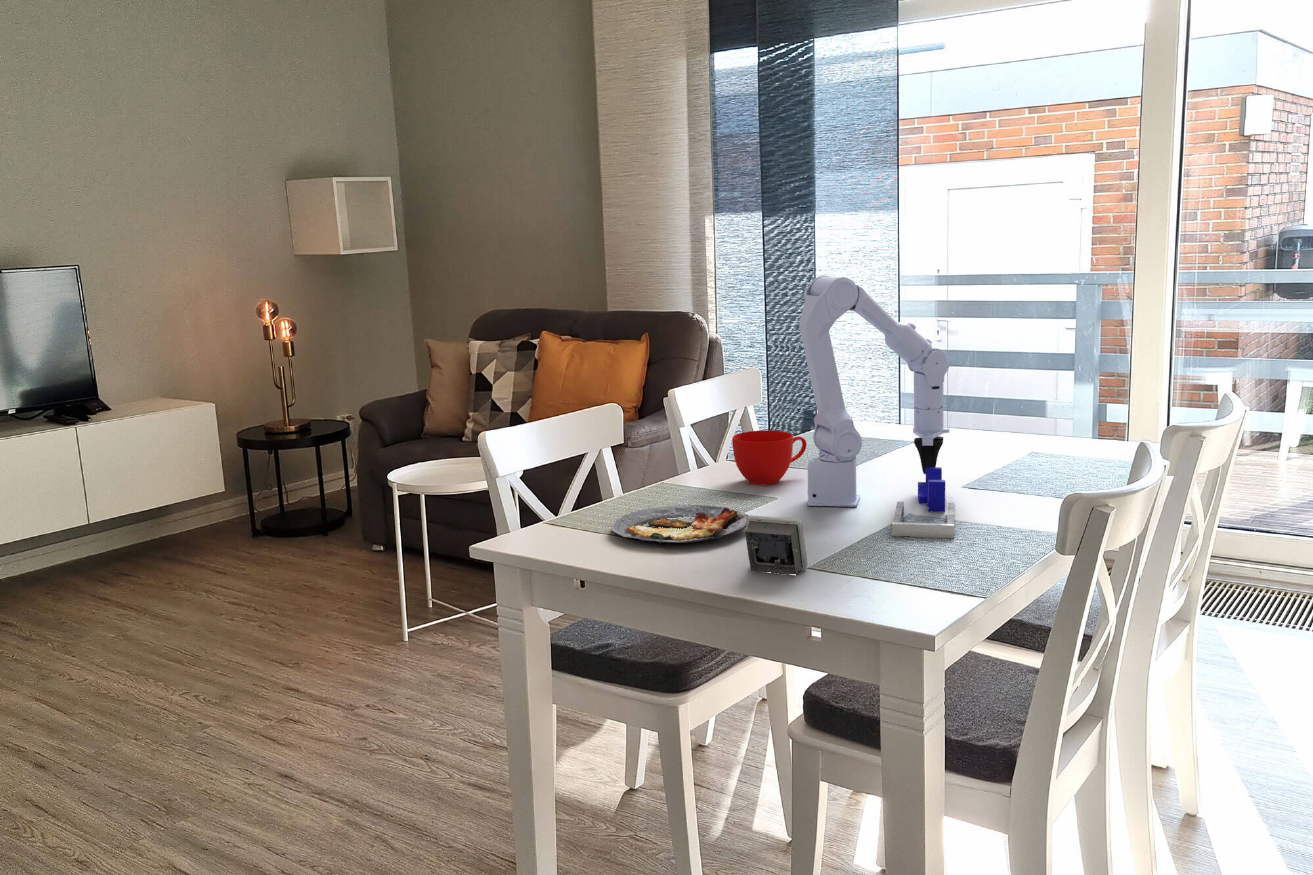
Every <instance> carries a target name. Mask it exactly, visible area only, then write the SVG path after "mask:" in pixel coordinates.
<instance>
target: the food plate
mask: <svg viewBox="0 0 1313 875" xmlns="http://www.w3.org/2000/svg"><path fill="white" fill-rule="evenodd" d="M748 516H750V515H749V514H747V513H744V512H742V511H741V510H737V509H736V510H735V509H732V508H730V507H725V506H723V507H722V506H713V505H712V506H711V505H705V504H704V505H702V504H701V505H698V504H697V505H696V504H688V503H687V504H681V505H680V504H677V505H667V506H666V505H665V506H660V507H650V508H644V509H642V510H638V511H631V512H630V513H626V514H624V515H622V516H621V517H620V518H617V519H615V520H614V521H613V522H612V523H613V524H612V526H611V530H612V531H613V532H614V533H616V534H617V535H619V536H621V537H623V538H631V539H637V540H640V541H642V542H646V541H647V542H655V541H656V542H658V543H659V544H662V542H663V543H665V542H666V543H678V544H688V543H695V542H704V541H710V540H716V539H719V538H725V537H726V538H727V537H728V536H731V535H732V534H734V533H737V532H738V531H741V530H743V529H747V527H746V519H747V517H748ZM678 517H682V518H683V517H695V519H694V520H691V522H690V521H686V520H683V519H682V520H679V519H671V520H670V519H667V518H678ZM657 520H658V521H657ZM647 523H648V524H647ZM644 524H647V525H648V527H647V526H643V525H644ZM649 526H655V527H661V528H654V527H649ZM689 526H692V527H693V528H692V529H691V528H689V529H686V530H685V529H683V528H687V527H689ZM662 527H663V528H662ZM666 528H668V529H666ZM674 528H677V529H674ZM678 528H679V529H678ZM680 528H681V529H680Z"/></svg>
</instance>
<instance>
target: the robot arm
mask: <svg viewBox="0 0 1313 875" xmlns="http://www.w3.org/2000/svg"><path fill="white" fill-rule="evenodd" d="M803 295H804V296H803V297H804V304H803V307H802V310H801V311H802V312H801V315H800V318H799V322H798V323H799V324H798V326H799V327H798V328H799V331H800V332H799V333H800V337H801V341H802V342H801V343H802V346H803V351H804V355H805V360H806V364H807V370H808V374H809V380H810V382H811V388H812V392H813V396H814V402H815V406H816V411H817V413H816V415H815V417H813V423H814V424H813V425H814V430H813V435H812V439H813V443H814V445H815V447H816V449H817V450H818V452H819V453H818V457H810V458H808V462H807V463H808V464H807V499H808V500H807V506H809V507H811V506H812V507H813V506H814V507H846V508H847V507H851V508H854V507H855V508H856V507H857V506H858V505H859V504H858V503H859V501H860V499H861V495H860V494H857V455H858V454H859V453H861V452H860V451H861V449H862V446H863V439H862V436H861V434H860V433H859V431H858V430H857V429H856V427H855V424H854V420H853V418H852V417H851V415H850V414H849V412H848V411H847V409H846V406H845V401H844V396H843V392H842V388H841V387H842V386H841V383H840V378H839V372H838V369H837V368H838V367H837V362H836V358H835V353H834V350H833V344H832V339H831V334H830V329H831V328H832V327H833V325H834V324H835V322H836V321H837V320H838V319H839V318H840V317H842V316H843V315H845V314H846V313H847V312H848V311H849V312H854V313H856V314H857V315H859V316H860V317H861V318H863V319H864V320H865V321H866V322H868V323H869V324H870V325H871V326H873V327H874V328H875V329H876V330H877V331H879V332H881V333H882V334H883V335H884V342H885V345H886V346H887V347H888V348H889V349H891V350H892V351H893V352H894V353H895V354H897V355H898V356H899V358H901V359H902V360H903V361H904V362H905V363H907V367H908V369H909V371H911V372H913V429H912V434H914V435H916V436H917V437H915V438H914V439H913V443H914V447H915V448H916V450H917V452H918V455H919V458H920V459H919V460H920V465H921V470H922V473H923V475H926V467H937V461H938V457H939V453H940V450H941V449H942V446H943V444H944V437H943V436H941V435H943V434H948V433H949V434H950V427H944V383H945V375H946V373H947V372H948V371H949V368H950V363H951V362H950V361H949V360H948V358H947V354H946V352H944V350H942V349H940V348H936V347H933V345H932V344H933V342H932V341H931V339H929V338H925V337H923V336H922V335H921V333H919V332H918V331H917V330H916V328H917V326H916V325H914V323H912V322H911V323H910V322H908V323H907V322H906V321H900V322H897V321H896V320H895V319H894V318H893V317H892V316H891V315H890V314H889V313H888V312H887V311H886V310H885V309H883V307H881V305H879V304H878V302H876V301H875V300H874V299H873V298H872V296H871V295H869V294H868V293H867V291H866V290H865V289H864V288H863V287H862V286H860V285H858V284H856V283H855V282H854V281H853V280H852V279H851V278H849V277H844V276H841V277H837V276H836V277H835V276H834V277H833V276H829V275H820V276H817V277H815V278H814V279H813V280H812V281H811V282H810V284H809V285H808V286H807V288H806V289H805V291H804V292H803Z"/></svg>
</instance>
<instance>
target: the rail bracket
mask: <svg viewBox="0 0 1313 875" xmlns="http://www.w3.org/2000/svg"><path fill="white" fill-rule="evenodd" d="M955 505H956V504H955V502H947V512H946V513H947V514H946V515H947V516H946V518H947V519H946V523H933V522H928V523H927V522H903V520H904V513H905V512H904V511H905V510H904V509H905V502H904V501H897V502H896V505H895V510H894V515H893V519H892V522H891V523H892V524H891V525H892V526H891V531H892V532H891V533H892V534H891V535H892V537H900V536H910V537H911V538H932V539H933V538H934V539H935V538H937V539H938V538H939V539H941V538H942V539H955V509H956V508H955V507H956V506H955ZM910 537H909V538H910Z"/></svg>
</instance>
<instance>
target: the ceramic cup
mask: <svg viewBox="0 0 1313 875" xmlns="http://www.w3.org/2000/svg"><path fill="white" fill-rule="evenodd" d="M797 441H801V443H802V444H801V447H800V449H799V451H798V453H796V454H795V455H794V456H793V448H794V443H795V442H797ZM731 442H732V444H731V445H732V451H733V458H734V462H735V464H736V467H737V469H738V471H739V472H740V474H741V475H742V476H743V477H744V480H747V482H748V484H751V485H755V486H769V485H775V484H778V483H780V480H781V479H782V478H783V477H784V476H785V474H786V473H787V472H788V469H789V467H790V465H791V463H793V462H795V461H797V460H798V459H799V458H801V457H802V456H803V454H804V453H805V452H806V450H807V440H806V439H805V438H804V437H802V436H794V435H793V434H792V433H791V432H788V431H781V430H750V431H745V432H739V433H736V434H734V435H733V436H732V441H731Z"/></svg>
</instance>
